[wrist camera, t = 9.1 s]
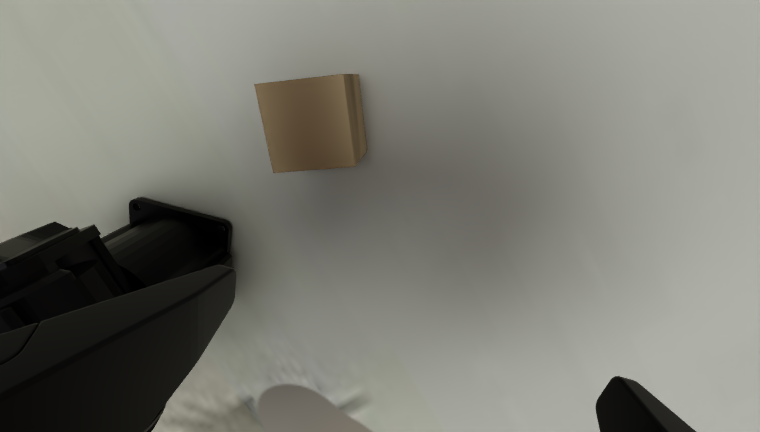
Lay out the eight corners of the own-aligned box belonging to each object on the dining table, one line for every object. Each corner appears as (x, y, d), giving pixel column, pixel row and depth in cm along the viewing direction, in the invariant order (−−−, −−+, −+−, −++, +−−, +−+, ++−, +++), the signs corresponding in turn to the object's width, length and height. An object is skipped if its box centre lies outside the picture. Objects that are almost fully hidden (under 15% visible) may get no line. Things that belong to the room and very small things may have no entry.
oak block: (299, 155, 21) (273, 172, 17) (286, 82, 19) (254, 84, 16) (367, 149, 20) (355, 166, 16) (358, 74, 19) (343, 74, 15)
